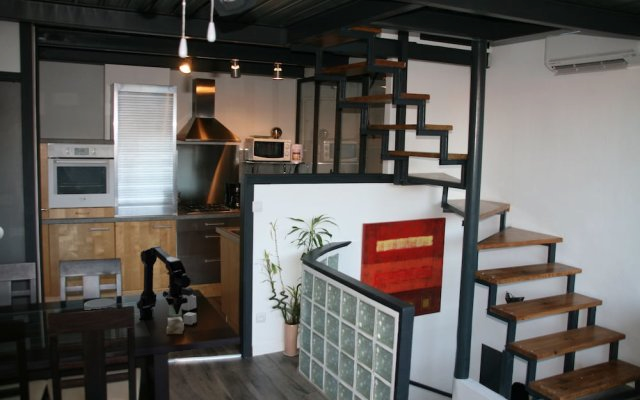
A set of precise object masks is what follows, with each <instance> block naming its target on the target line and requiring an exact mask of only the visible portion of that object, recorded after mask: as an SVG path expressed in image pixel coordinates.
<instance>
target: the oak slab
mask: <svg viewBox="0 0 640 400" xmlns="http://www.w3.org/2000/svg"><path fill="white" fill-rule="evenodd" d="M184 330H185V324H184V322H183V327H180V328H171V329H169V326H168V325H167V327H166V335H182V334H183V332H184Z"/></svg>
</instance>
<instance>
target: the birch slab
mask: <svg viewBox="0 0 640 400" xmlns="http://www.w3.org/2000/svg"><path fill="white" fill-rule="evenodd" d="M183 323H184V319H183V318H182V316H174V317H172V316H171V317H167V326H169V329H171V328H180V327H183Z"/></svg>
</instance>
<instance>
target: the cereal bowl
mask: <svg viewBox="0 0 640 400" xmlns="http://www.w3.org/2000/svg"><path fill="white" fill-rule="evenodd" d="M116 304H117V301H116V299H113V298H96V299H91V300H89V301H86V302H85V303H84V304H83V308H84V311H85V310H91V309H101V308H107V307H115V308H116V306H117V305H116Z"/></svg>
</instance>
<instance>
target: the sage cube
mask: <svg viewBox="0 0 640 400" xmlns="http://www.w3.org/2000/svg"><path fill="white" fill-rule="evenodd" d="M182 310H183V309H182V306H181V307H180V310H179V313H178V314H176V313H175V310H174V307H173V304H171V305H169V304H168V315H169V316H171V318H172V317H180V316H183V315H182Z"/></svg>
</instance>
